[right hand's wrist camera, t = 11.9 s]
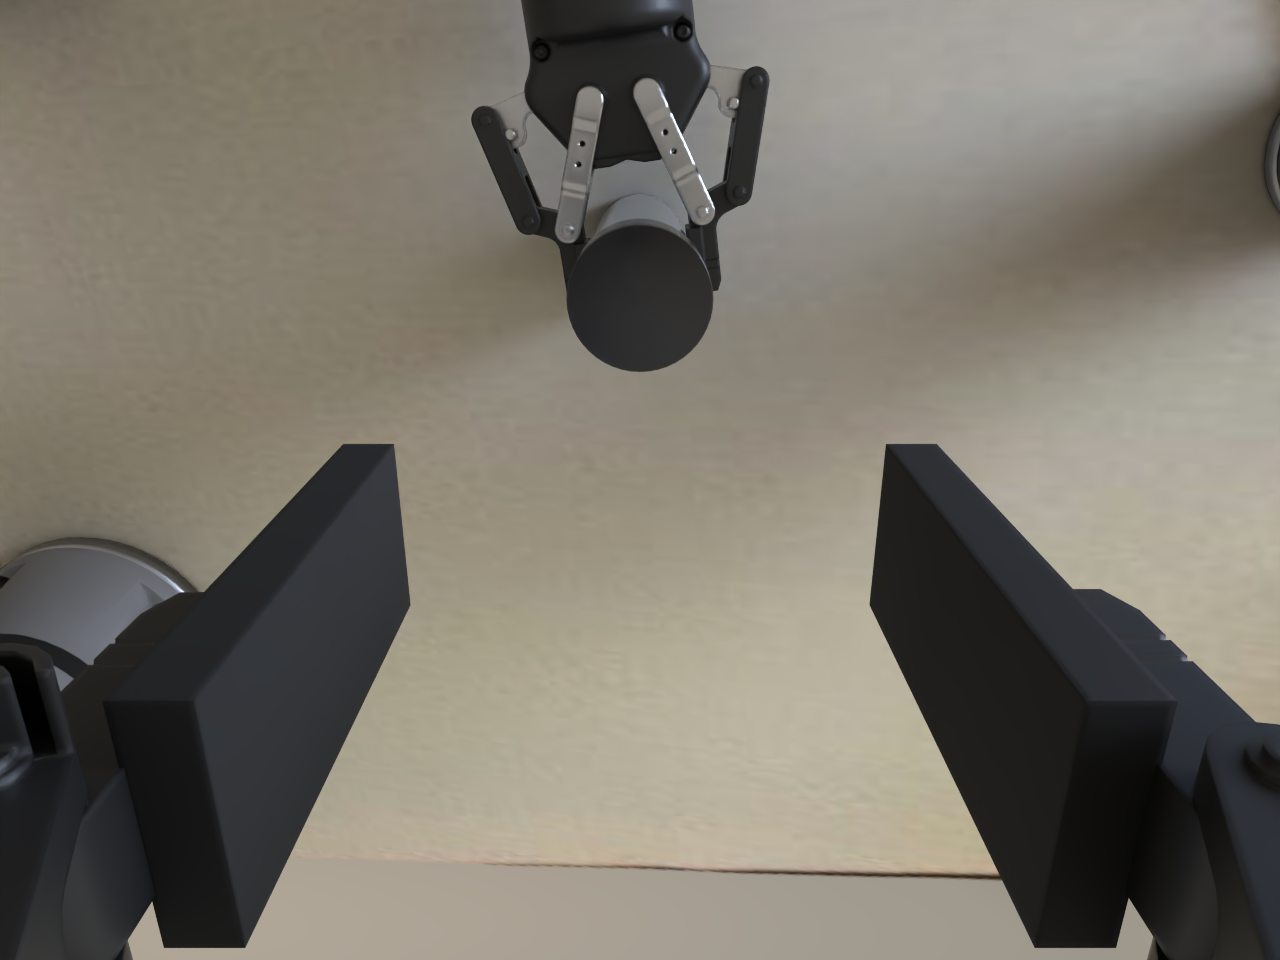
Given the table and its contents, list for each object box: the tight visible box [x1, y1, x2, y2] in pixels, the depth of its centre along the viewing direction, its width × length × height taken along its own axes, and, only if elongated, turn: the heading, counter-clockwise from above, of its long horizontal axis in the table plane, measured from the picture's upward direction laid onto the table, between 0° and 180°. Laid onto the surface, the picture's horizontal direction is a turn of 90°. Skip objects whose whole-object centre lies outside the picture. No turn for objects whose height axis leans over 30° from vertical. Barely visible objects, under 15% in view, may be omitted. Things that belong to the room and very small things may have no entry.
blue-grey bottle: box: [594, 194, 686, 236], centre depth 42 cm, size 5×5×19 cm
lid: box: [567, 219, 713, 372], centre depth 34 cm, size 5×5×2 cm
